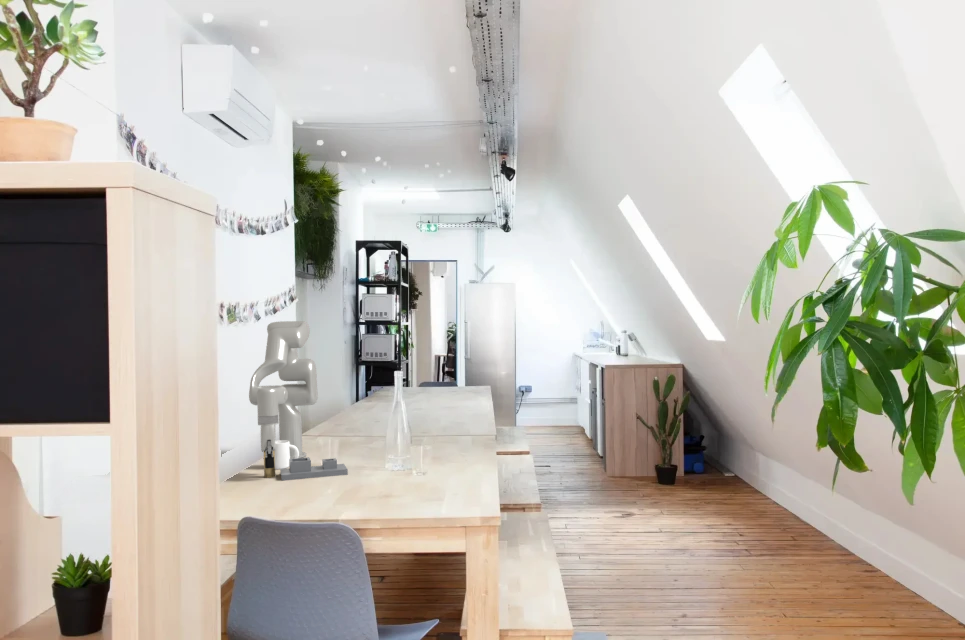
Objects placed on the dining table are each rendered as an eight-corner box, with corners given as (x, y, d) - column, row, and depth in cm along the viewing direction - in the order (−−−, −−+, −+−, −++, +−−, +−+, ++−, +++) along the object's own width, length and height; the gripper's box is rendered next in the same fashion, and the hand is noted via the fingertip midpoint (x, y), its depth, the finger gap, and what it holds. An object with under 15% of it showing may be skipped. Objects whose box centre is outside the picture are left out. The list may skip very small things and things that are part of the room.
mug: (301, 464, 297) (300, 439, 297) (297, 468, 288) (296, 442, 289) (271, 466, 296) (270, 440, 296) (266, 470, 288) (266, 444, 288)
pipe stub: (264, 476, 275) (263, 444, 276) (275, 475, 277) (274, 443, 277) (264, 478, 272) (263, 446, 272) (275, 477, 273) (274, 445, 273)
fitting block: (280, 474, 278) (280, 458, 278) (343, 468, 286) (343, 453, 286) (281, 480, 267) (281, 464, 267) (347, 474, 274) (347, 458, 274)
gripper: (257, 418, 281) (258, 462, 281) (258, 423, 265) (259, 470, 265) (277, 417, 284) (278, 461, 283) (279, 422, 267) (280, 468, 267)
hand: (269, 465), depth 274 cm, fingers open, 9 cm apart
